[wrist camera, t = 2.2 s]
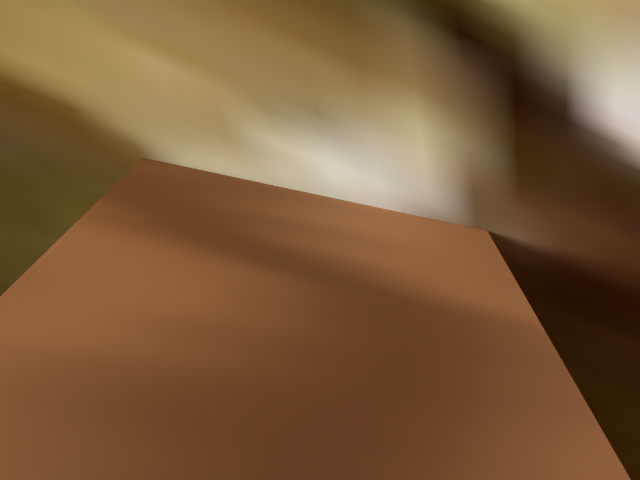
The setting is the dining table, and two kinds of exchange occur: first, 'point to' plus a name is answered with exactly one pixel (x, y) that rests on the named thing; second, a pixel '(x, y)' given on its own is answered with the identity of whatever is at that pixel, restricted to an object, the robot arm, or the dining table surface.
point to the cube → (279, 346)
